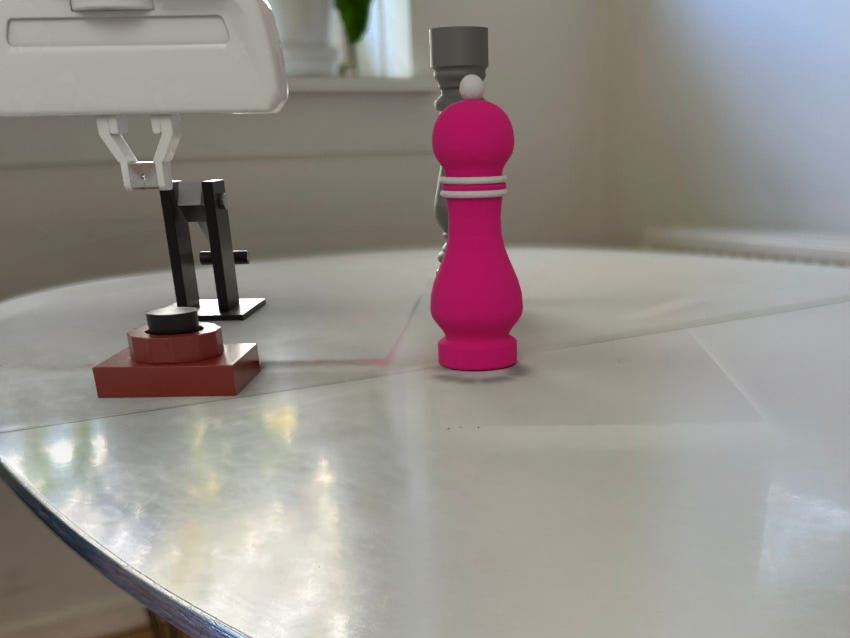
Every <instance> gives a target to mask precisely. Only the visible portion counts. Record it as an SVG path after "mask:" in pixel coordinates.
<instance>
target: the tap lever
mask: <svg viewBox="0 0 850 638" xmlns="http://www.w3.org/2000/svg"><path fill="white" fill-rule="evenodd" d="M201 182H203V181H201V180H199V181H182V182H179V189H178V207H179V208H180V210H181V212H182V214H183V215H184V217H185V219H186V221H187V222H188V223H197V225H198V227H199V228H200V230H201V231H202V233H203V235H204V237H205V239H206V241H207V242H208V244H209V245H210V242H209V235H208V227H207V220H206V213H205V205H204V198H203V191H202V183H201ZM233 255H234V263H235V265H249V264H250V263H251V255H250V251H249V250H233ZM198 258H199V263H200V265H201V266H213V264H212V257H211V250H210V251H209V250H208V251H203V250H202V251H200V252H199V255H198Z"/></svg>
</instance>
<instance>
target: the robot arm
mask: <svg viewBox="0 0 850 638" xmlns="http://www.w3.org/2000/svg"><path fill="white" fill-rule="evenodd" d="M275 16H276V15H275V14H274V11H273V9H272V7H271V5H270V3H269V2H268V0H0V118H16V117H17V118H18V117H19V118H20V117H21V118H23V117H27V118H28V117H29V118H30V117H31V118H32V117H84V116H85V117H86V116H89V117H91V116H95V121H96V122H95V123H96V127H97V132H98V133H97V134H98V136H99V137H100V139H101V140H102V142H103V143H104V144H105V146H106V147H107V149H108V150H109V152H110V153H111V155H112V156H113V157H114V159H115V160H116V161H117V163H119V165H120V170H121V177H122V182H123V187H124V189H125V191H126V192H133V191H134V192H138V191H139V192H140V191H159V190H172V188H173V175H172V167H171V162H172V161H173V159H174V155H175V153H176V151H177V148H178V146H179V143H180V140H181V138H182V135H183V129H182V122H181V121H182V120H181V115H225V114H226V115H228V114H230V115H231V114H233V115H234V114H235V115H241V114H242V115H243V114H246V115H247V114H278V113H280V112H281V110H282V109H283V108H284V106H285V105H286V103H287V101H288V98H289V84H288V76H287V75H288V74H287V68H286V64H285V63H286V62H285V57H284V56H285V55H284V50H283V46H282V41H281V36H280V31H279V27H278V24H277V23H278V22H277V20H276V17H275ZM127 116H150V123H151V129H152V133H153V134H154V135H157V134H160V135H161V136H160V138H159V141H158V144H157V147H156V149H155V150H156V151H155V153H154V156H153V159H152V161H139V160H138V159H137V157H136V156H135V154H134V153H133V151H132V149H131V147H130V146H129V144H128V143H127V142H126V140H125V139H124V137H123V135H128V134H129V133H130V130H129V128H130V127H129V123H128V117H127Z"/></svg>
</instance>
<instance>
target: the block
mask: <svg viewBox="0 0 850 638" xmlns="http://www.w3.org/2000/svg"><path fill="white" fill-rule="evenodd" d="M199 328H200V331H197V332H193V333H186V334H177V335H151V334H149V330H148V325H145V326H139V327H136V328H135V327H134V328H133V329H131V330H129V331H127V332H126V337H127V338H126V339H127V344H128V346H127V347H125V348H124V349H121V350H120V351H119V352H117V353H115V354H113V355H111V356H110V357H108V358H106V359H105V360H103V361H102V362H99V363H98V364H96V365H94V366H93V367H92V368H91V369H92V374H93V375H92V376H93V380H94V384H95V389H96V395H97V398H98V399H125V398H128V399H129V398H130V399H133V398H135V399H137V398H184V397H185V398H188V397H189V398H190V397H191V398H193V397H236V396H237V395H238V394H240V393H241V391H242V390H244V388H246V387H247V385H248V384H250V382H252V380H254V378H255V377H256V376H258V375H259V374H260V373H261V366H260V355H259V349H258V343H256V342H255V343H254V342H253V343H252V342H251V343H247V342H246V343H224V339H223V338H224V337H223V330H222V326H221V325H218V324H216V323H214V322H206V321H199Z"/></svg>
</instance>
